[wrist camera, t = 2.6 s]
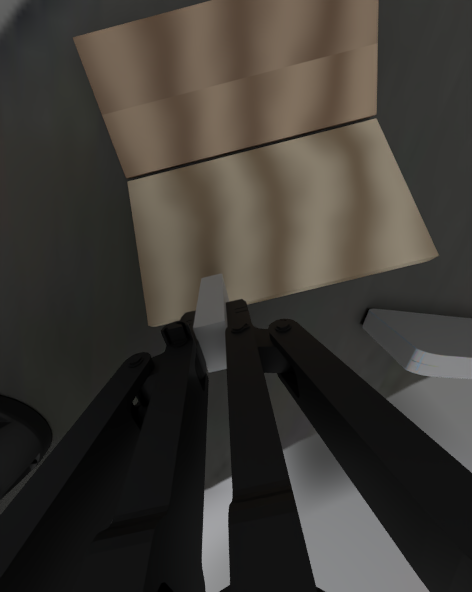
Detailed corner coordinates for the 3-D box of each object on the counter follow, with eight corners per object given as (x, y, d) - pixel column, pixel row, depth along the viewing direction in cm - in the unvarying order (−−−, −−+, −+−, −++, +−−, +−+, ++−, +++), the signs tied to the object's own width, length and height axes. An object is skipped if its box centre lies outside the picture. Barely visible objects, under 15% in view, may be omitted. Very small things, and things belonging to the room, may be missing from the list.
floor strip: (130, 178, 24) (126, 178, 23) (80, 45, 20) (72, 37, 19) (368, 117, 24) (376, 114, 22) (369, -32, 19) (379, -45, 18)
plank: (154, 326, 21) (148, 325, 20) (133, 189, 24) (127, 181, 23) (428, 260, 21) (438, 255, 19) (370, 129, 24) (376, 118, 23)
